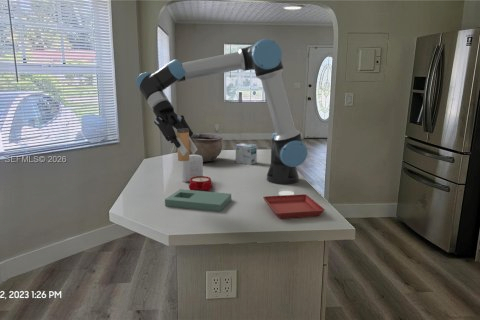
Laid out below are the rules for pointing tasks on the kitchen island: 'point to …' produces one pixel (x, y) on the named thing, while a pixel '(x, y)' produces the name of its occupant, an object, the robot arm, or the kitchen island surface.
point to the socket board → (198, 200)
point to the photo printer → (192, 167)
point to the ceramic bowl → (207, 145)
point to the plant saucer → (293, 206)
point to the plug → (184, 137)
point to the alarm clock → (200, 183)
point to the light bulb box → (246, 153)
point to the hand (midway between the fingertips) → (190, 152)
